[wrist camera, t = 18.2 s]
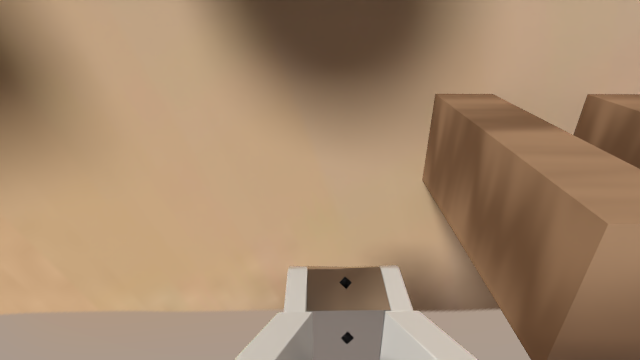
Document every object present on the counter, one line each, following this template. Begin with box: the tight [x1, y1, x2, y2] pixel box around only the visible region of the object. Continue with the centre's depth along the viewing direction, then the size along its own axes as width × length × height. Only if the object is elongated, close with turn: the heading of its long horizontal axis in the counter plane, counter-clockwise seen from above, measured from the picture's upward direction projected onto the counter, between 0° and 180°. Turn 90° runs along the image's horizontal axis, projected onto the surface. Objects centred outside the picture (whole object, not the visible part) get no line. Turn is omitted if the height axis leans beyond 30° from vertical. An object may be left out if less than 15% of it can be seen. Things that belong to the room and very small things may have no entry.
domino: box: [422, 94, 640, 360], centre depth 14 cm, size 5×3×12 cm, turn 0°
